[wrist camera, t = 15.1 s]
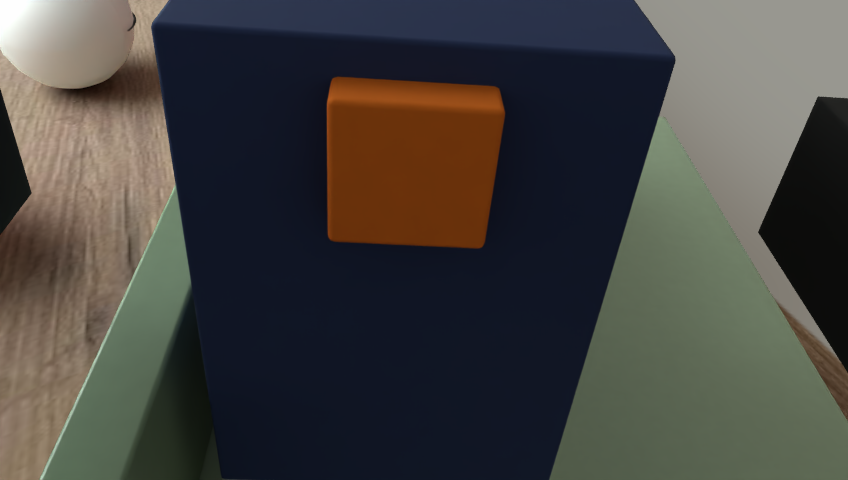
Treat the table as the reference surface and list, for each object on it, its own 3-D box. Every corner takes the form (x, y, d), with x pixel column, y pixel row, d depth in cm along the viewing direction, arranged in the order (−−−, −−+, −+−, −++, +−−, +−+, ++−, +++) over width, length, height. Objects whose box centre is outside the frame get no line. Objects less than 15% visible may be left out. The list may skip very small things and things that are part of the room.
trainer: (538, 563, 14) (696, 79, 8) (221, 556, 14) (131, 44, 8) (476, 150, 26) (518, -162, 20) (309, 140, 26) (302, -179, 20)
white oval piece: (146, 107, 41) (124, -24, 37) (1, 116, 39) (-42, -21, 35) (145, 38, 49) (126, -77, 44) (22, 43, 47) (-10, -77, 42)
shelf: (623, 251, 34) (694, 20, 27) (856, 854, 16) (1212, 621, 10) (277, 234, 33) (263, -9, 26) (131, 857, 15) (-20, 601, 9)
